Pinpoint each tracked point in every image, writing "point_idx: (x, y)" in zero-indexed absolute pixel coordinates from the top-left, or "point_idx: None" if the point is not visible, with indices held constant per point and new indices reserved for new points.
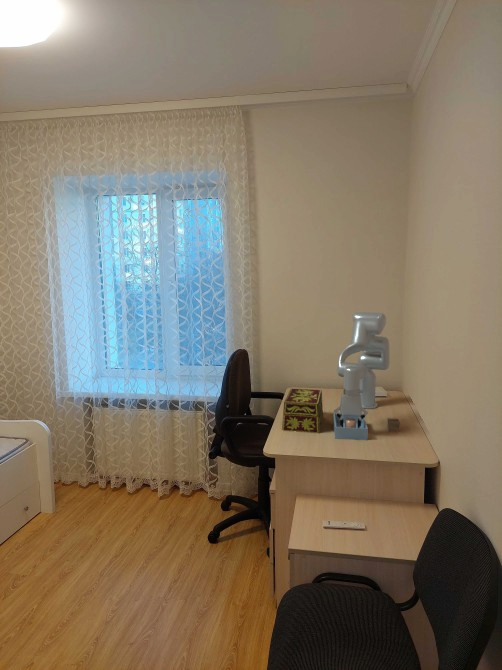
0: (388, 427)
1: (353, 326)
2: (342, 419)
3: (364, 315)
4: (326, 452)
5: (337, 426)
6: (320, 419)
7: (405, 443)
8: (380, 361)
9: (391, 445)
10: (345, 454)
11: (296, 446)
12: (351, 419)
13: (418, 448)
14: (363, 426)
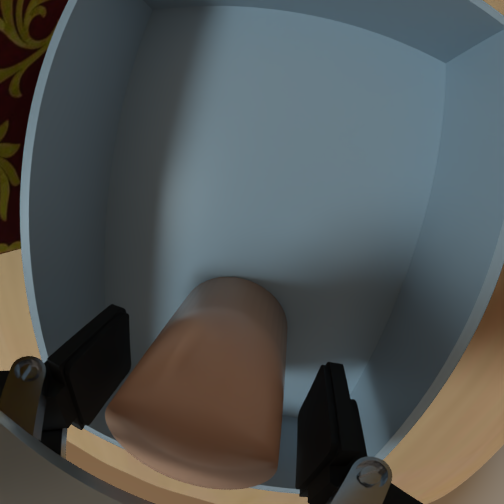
0: None
1: None
2: (70, 417)
3: None
4: (96, 449)
5: (145, 109)
6: (4, 87)
7: (483, 429)
8: None
9: (416, 458)
10: (164, 482)
11: (5, 368)
12: (200, 453)
13: (478, 455)
14: (437, 226)
